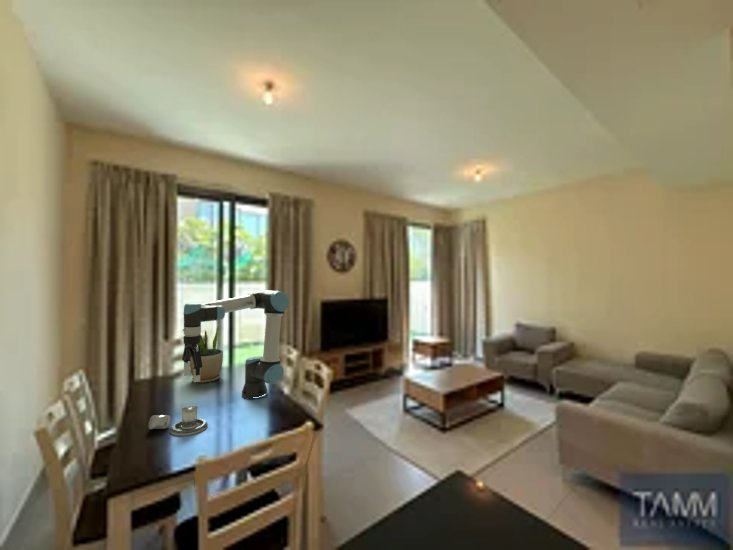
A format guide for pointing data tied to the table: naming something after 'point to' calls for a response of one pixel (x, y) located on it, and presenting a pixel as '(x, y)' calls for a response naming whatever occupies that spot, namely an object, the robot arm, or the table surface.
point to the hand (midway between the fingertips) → (191, 378)
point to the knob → (189, 417)
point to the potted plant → (209, 360)
